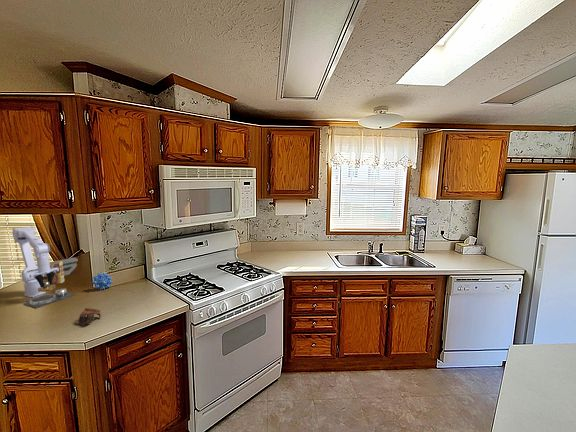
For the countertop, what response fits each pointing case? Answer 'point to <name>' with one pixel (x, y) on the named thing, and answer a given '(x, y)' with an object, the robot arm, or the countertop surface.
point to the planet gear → (46, 287)
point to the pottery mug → (88, 316)
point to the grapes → (102, 281)
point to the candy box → (57, 272)
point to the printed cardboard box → (67, 265)
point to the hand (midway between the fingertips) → (46, 285)
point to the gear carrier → (48, 298)
